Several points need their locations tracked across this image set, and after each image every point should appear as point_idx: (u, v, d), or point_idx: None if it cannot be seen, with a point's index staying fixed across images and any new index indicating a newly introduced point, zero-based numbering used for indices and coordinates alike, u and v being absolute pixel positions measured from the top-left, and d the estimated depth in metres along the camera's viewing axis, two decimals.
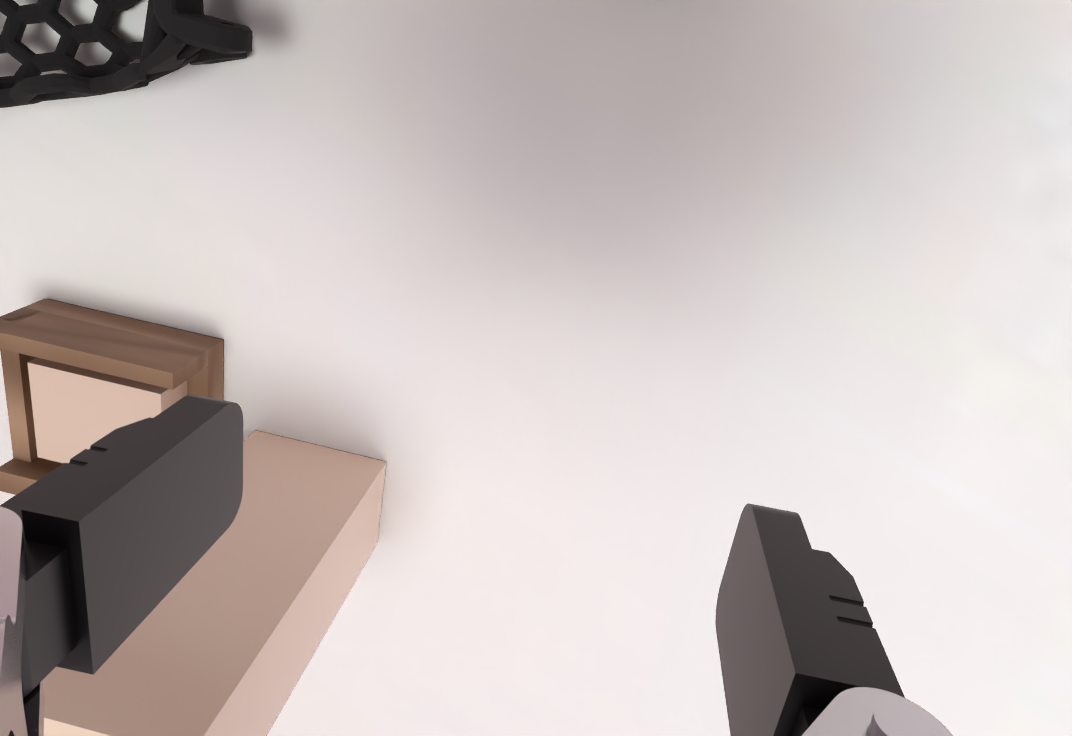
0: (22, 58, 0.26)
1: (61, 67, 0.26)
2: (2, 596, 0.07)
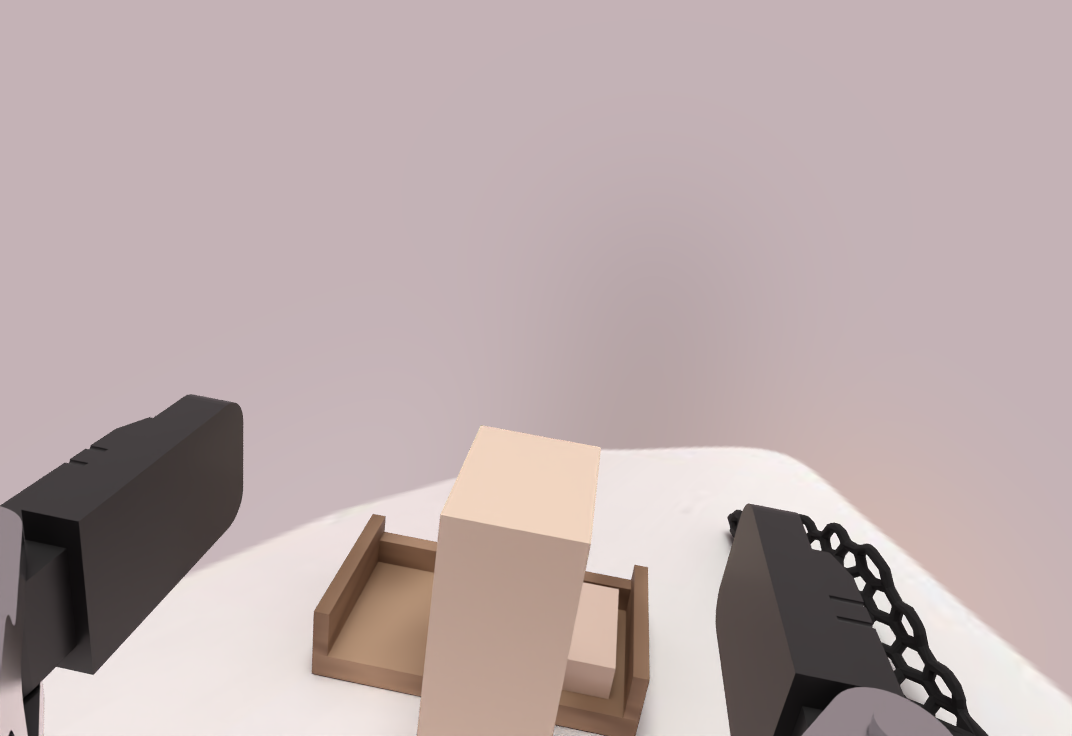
0: None
1: None
2: (2, 596, 0.07)
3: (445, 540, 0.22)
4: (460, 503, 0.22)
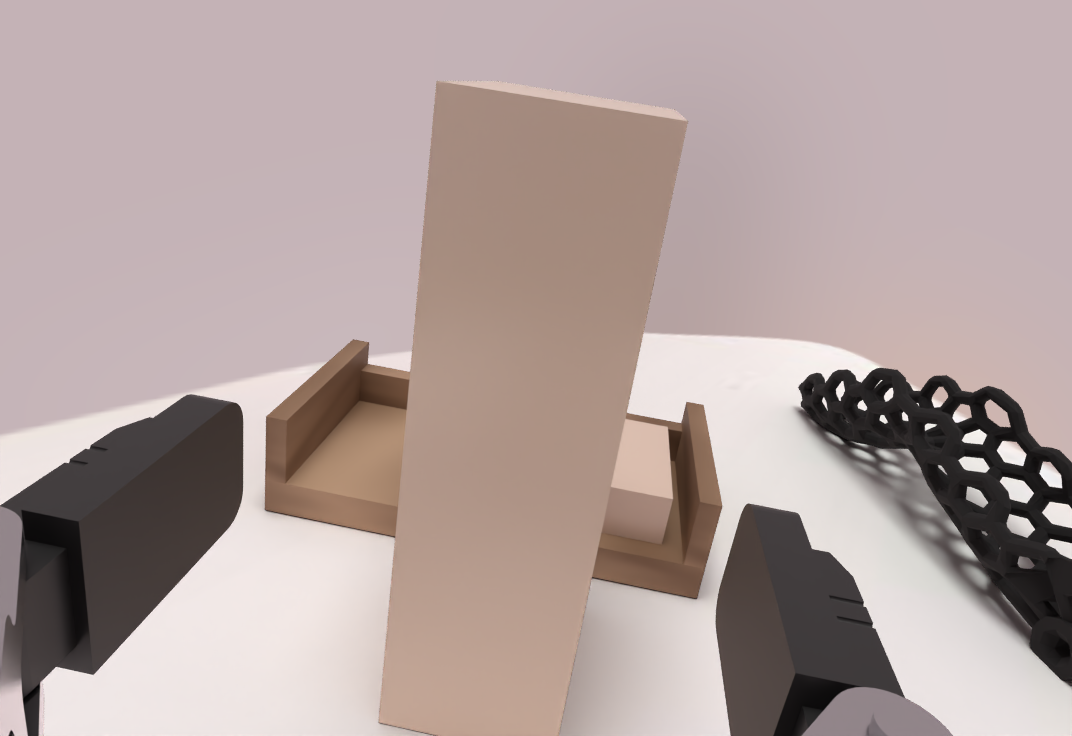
0: None
1: None
2: (1, 596, 0.07)
3: (444, 133, 0.13)
4: (469, 84, 0.14)
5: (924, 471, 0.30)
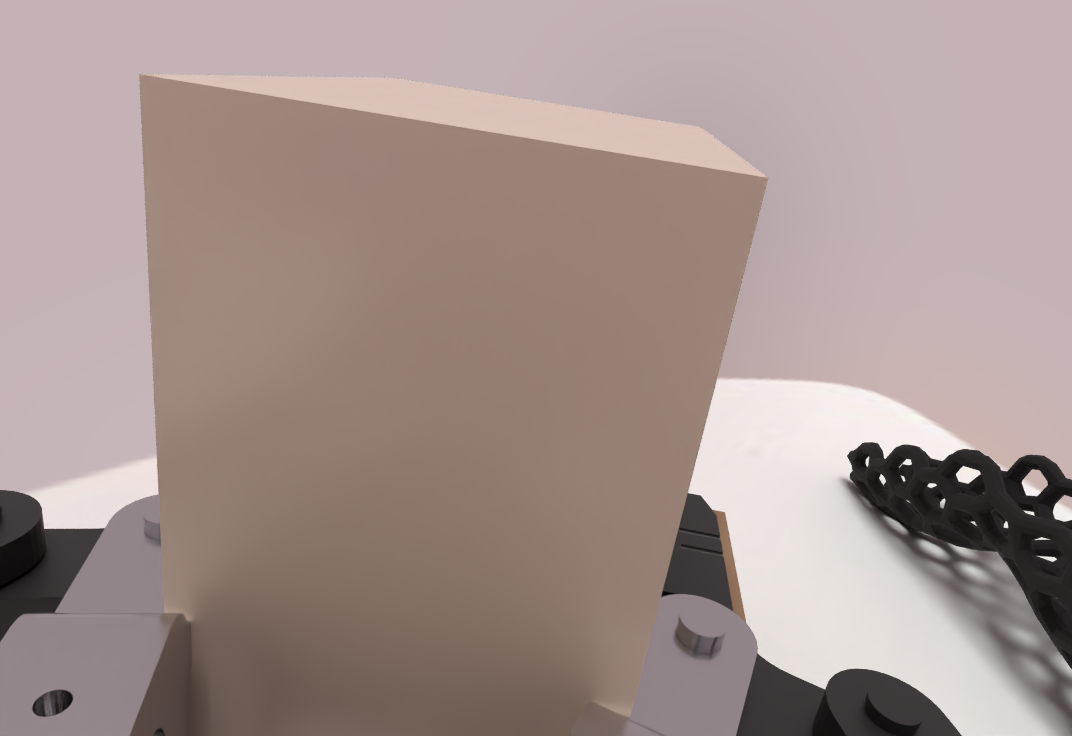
0: None
1: None
2: None
3: (174, 200, 0.06)
4: (248, 83, 0.06)
5: (1032, 600, 0.23)
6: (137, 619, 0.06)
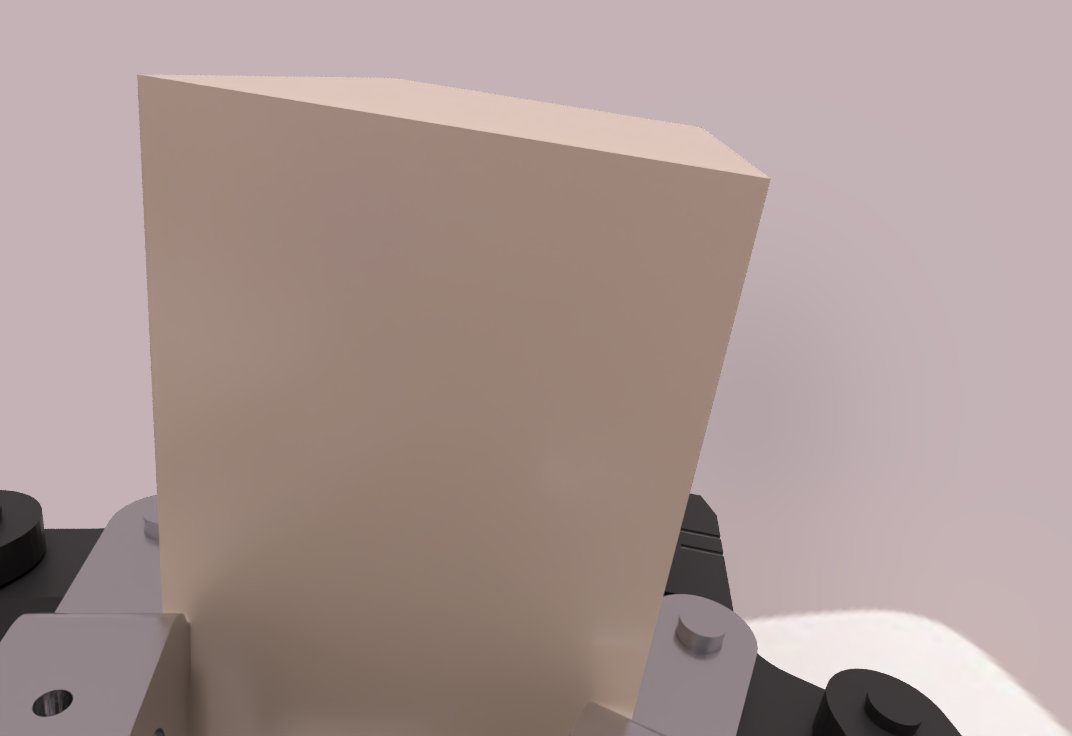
0: None
1: None
2: None
3: (173, 201, 0.06)
4: (248, 83, 0.06)
5: None
6: (138, 619, 0.06)
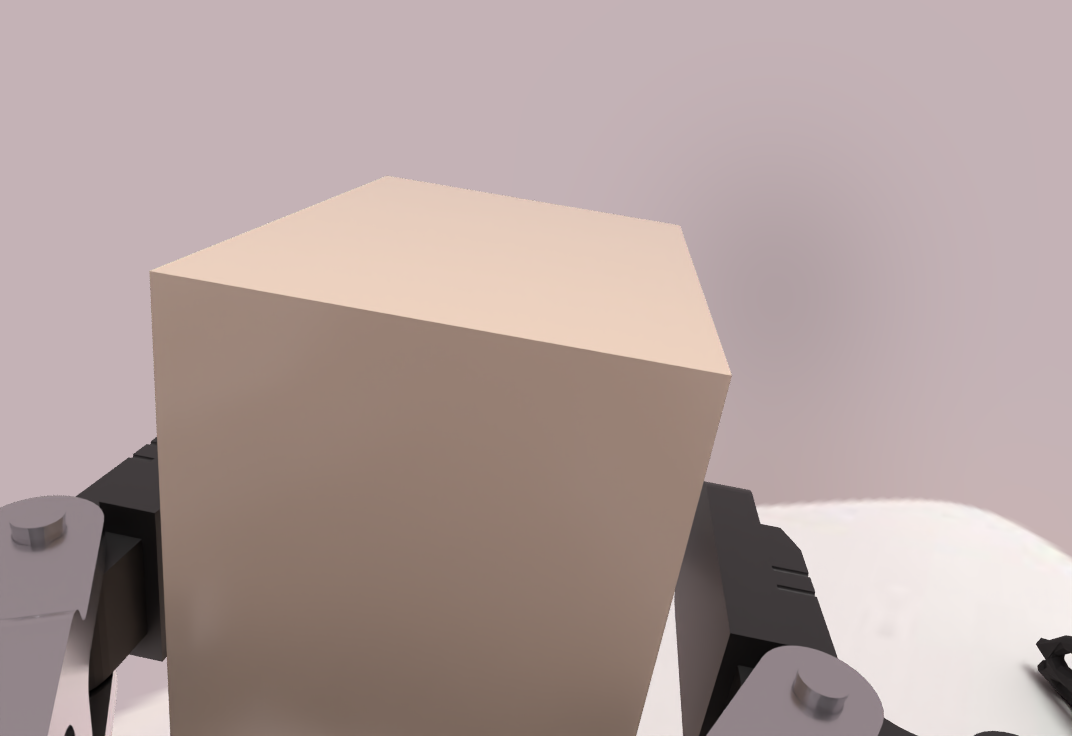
0: None
1: None
2: (77, 589, 0.07)
3: (182, 378, 0.06)
4: (250, 258, 0.06)
5: None
6: (32, 621, 0.06)
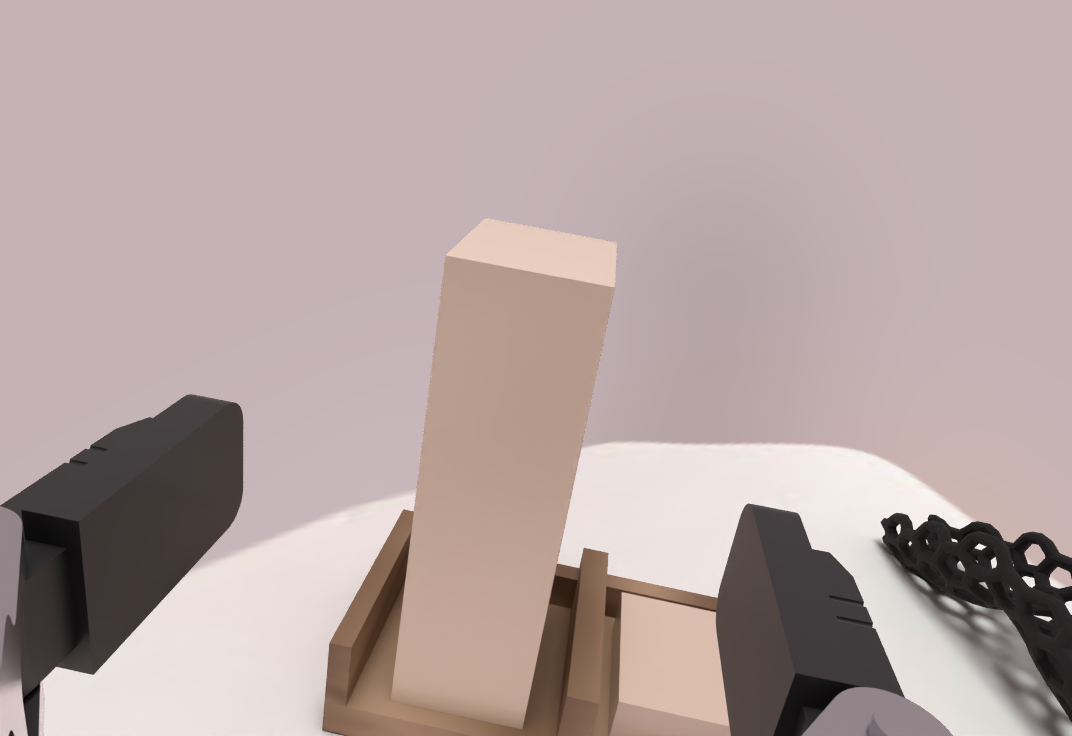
0: None
1: None
2: (2, 596, 0.07)
3: (450, 288, 0.20)
4: (467, 252, 0.20)
5: (1033, 654, 0.30)
6: None
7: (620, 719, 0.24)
